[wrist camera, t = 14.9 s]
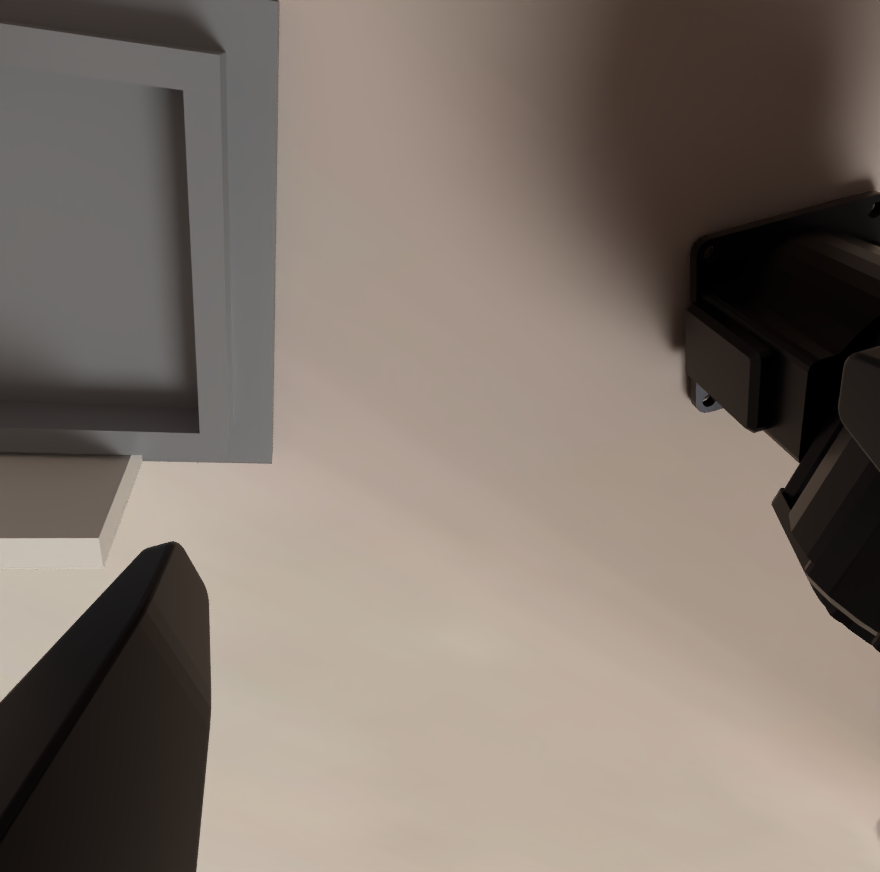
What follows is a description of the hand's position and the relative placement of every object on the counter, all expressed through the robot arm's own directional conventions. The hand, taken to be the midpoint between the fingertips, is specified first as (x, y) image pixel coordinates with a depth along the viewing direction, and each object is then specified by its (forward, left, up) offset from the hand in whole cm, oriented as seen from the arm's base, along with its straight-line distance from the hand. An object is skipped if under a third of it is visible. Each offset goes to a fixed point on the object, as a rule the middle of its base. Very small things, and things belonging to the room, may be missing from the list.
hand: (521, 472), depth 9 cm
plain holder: (+10, -2, -13) cm, 17 cm away
